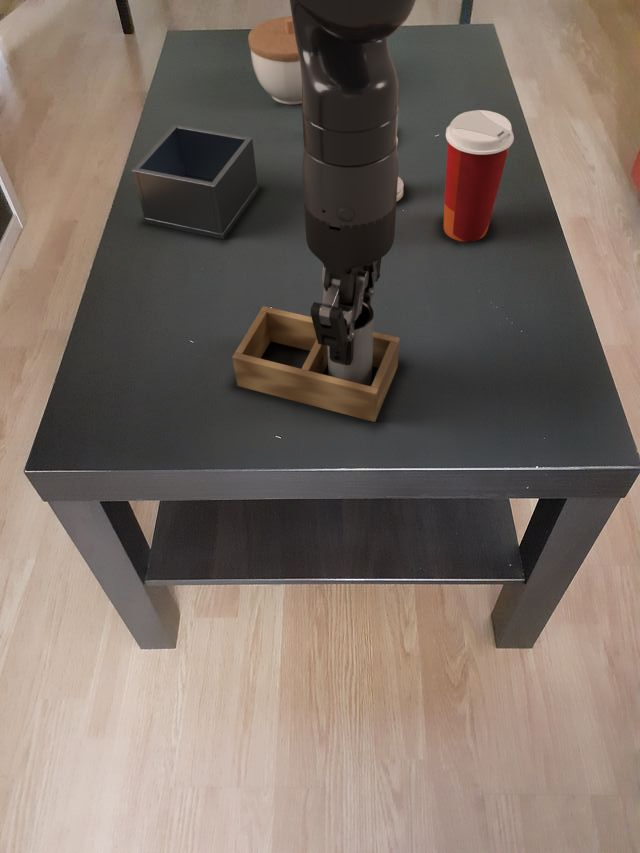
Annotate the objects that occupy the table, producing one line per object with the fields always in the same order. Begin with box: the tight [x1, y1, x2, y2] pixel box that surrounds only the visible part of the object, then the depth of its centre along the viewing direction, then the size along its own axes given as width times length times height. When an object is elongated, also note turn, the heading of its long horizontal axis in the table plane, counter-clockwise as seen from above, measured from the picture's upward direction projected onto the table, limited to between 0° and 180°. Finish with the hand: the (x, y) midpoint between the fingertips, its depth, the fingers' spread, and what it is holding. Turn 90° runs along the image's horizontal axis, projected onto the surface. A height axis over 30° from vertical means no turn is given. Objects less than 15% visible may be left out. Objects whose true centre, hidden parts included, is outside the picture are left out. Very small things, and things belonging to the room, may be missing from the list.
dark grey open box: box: [131, 124, 259, 240], centre depth 93 cm, size 11×11×8 cm
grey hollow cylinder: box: [327, 300, 375, 386], centre depth 71 cm, size 4×4×10 cm
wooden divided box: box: [231, 305, 401, 423], centre depth 75 cm, size 15×8×4 cm, turn 70°
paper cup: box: [443, 109, 515, 243], centre depth 86 cm, size 8×8×14 cm
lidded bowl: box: [247, 15, 302, 105], centre depth 110 cm, size 13×13×11 cm
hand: (350, 342), depth 70 cm, fingers closed on grey hollow cylinder, 4 cm apart
